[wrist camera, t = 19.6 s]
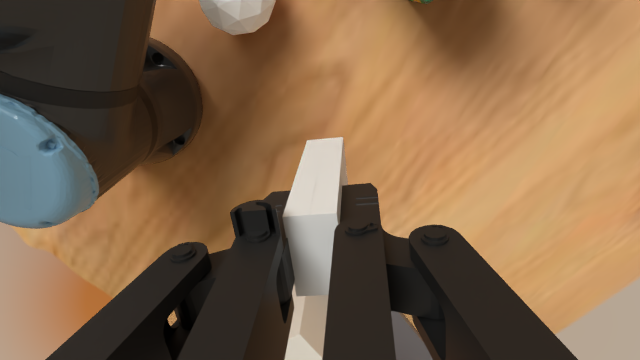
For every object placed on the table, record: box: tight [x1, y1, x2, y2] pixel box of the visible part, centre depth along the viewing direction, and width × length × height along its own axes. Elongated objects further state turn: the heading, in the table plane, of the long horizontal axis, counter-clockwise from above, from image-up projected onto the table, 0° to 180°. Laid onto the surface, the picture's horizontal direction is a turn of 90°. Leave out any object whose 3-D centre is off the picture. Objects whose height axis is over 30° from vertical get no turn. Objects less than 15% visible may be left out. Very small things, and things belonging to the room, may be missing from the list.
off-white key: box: [284, 285, 328, 360], centre depth 54 cm, size 5×8×12 cm, turn 37°
